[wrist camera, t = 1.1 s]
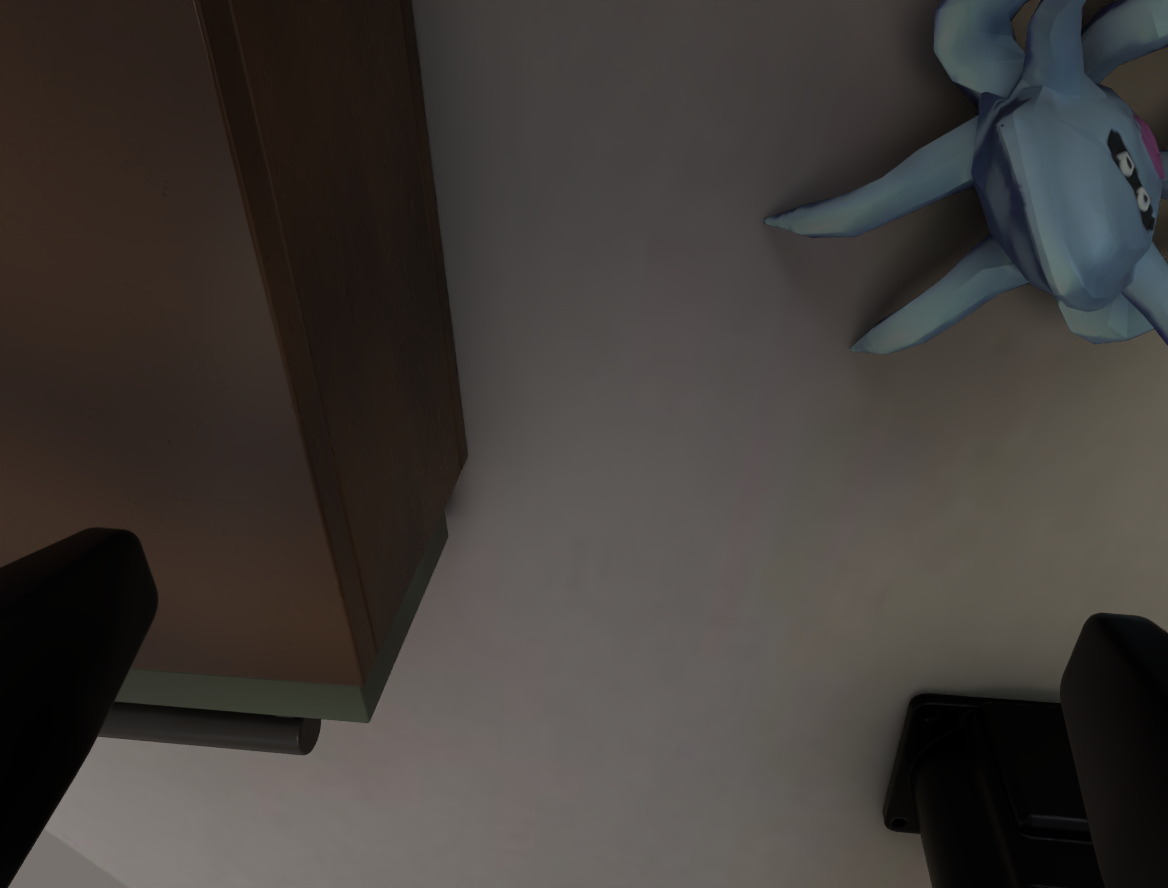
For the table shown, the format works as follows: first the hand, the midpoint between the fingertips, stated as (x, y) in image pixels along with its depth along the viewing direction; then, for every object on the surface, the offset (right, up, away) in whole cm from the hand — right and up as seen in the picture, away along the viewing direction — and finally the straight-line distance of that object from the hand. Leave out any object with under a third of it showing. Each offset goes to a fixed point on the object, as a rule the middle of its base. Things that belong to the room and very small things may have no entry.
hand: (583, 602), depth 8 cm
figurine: (+10, +8, +10) cm, 16 cm away
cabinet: (-11, +7, +13) cm, 19 cm away
